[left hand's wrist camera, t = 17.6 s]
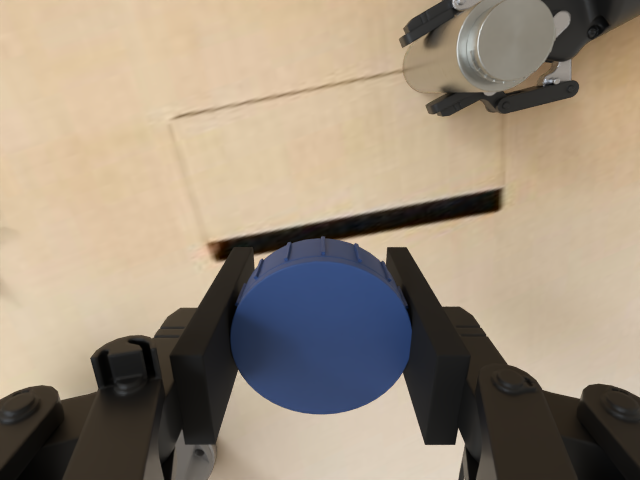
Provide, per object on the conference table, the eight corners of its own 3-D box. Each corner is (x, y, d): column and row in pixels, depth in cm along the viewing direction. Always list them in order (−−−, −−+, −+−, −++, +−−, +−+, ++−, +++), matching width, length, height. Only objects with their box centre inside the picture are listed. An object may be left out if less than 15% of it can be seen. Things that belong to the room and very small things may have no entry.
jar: (403, 95, 35) (464, 97, 19) (401, 38, 33) (468, -12, 17) (454, 89, 34) (559, 86, 19) (455, 31, 33) (573, -26, 17)
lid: (434, 294, 12) (453, 325, 10) (339, 398, 14) (341, 440, 12) (298, 203, 11) (295, 222, 9) (211, 328, 12) (195, 363, 11)
